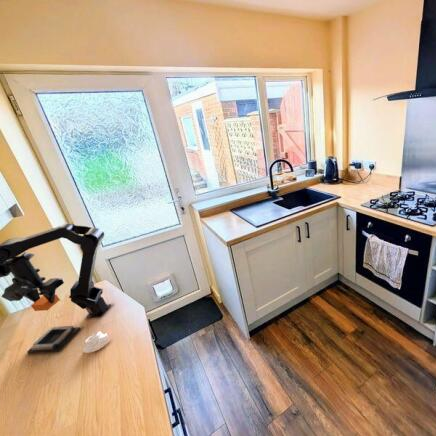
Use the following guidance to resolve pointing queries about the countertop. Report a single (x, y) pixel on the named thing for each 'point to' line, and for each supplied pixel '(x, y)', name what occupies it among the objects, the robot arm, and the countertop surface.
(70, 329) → the mount plate
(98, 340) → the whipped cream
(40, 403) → the countertop surface
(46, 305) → the orange block
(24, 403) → the countertop surface
